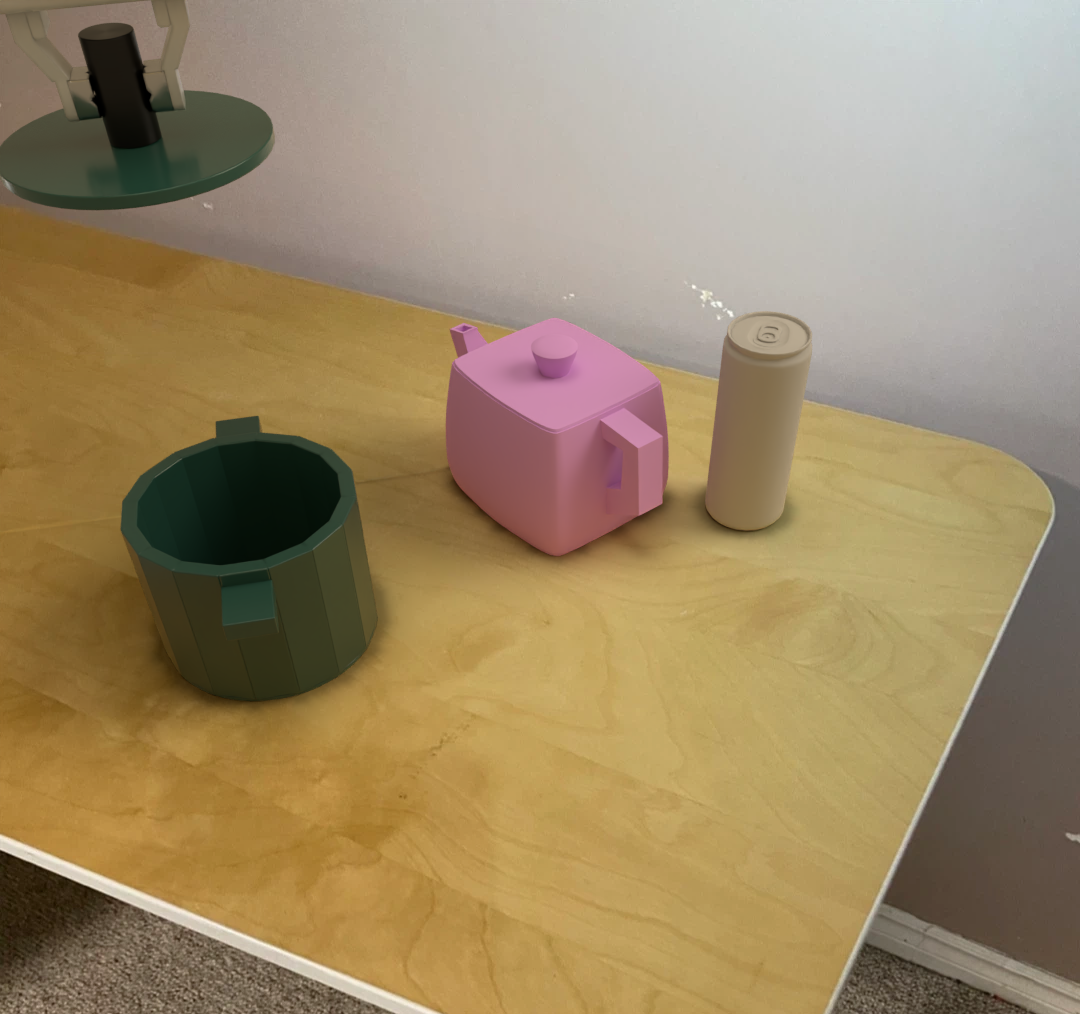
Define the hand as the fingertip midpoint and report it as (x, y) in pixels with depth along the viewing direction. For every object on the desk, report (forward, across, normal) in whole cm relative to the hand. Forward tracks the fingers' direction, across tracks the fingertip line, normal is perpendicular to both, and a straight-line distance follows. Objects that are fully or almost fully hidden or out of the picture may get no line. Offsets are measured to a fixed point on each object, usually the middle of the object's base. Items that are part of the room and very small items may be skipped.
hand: (127, 112), depth 52 cm
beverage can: (+24, -30, +6) cm, 39 cm away
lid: (+2, 0, 0) cm, 2 cm away
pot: (+24, -1, +10) cm, 26 cm away
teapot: (+24, -19, +1) cm, 31 cm away
